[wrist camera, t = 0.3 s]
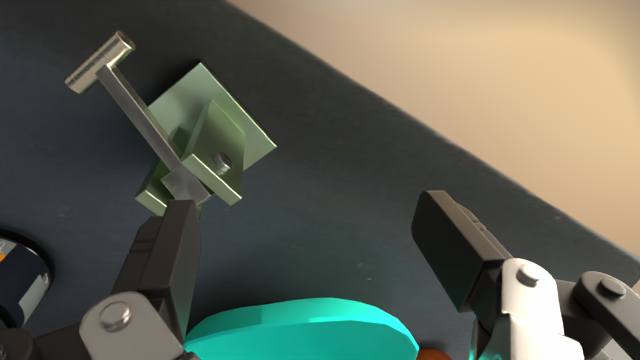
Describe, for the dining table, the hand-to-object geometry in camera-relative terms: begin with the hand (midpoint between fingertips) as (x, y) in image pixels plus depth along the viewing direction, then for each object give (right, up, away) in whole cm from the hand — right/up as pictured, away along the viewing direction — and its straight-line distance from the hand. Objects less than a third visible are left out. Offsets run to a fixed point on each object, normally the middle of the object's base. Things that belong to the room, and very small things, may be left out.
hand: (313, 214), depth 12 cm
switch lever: (-11, +5, +12) cm, 17 cm away
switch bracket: (-10, +6, +20) cm, 23 cm away
